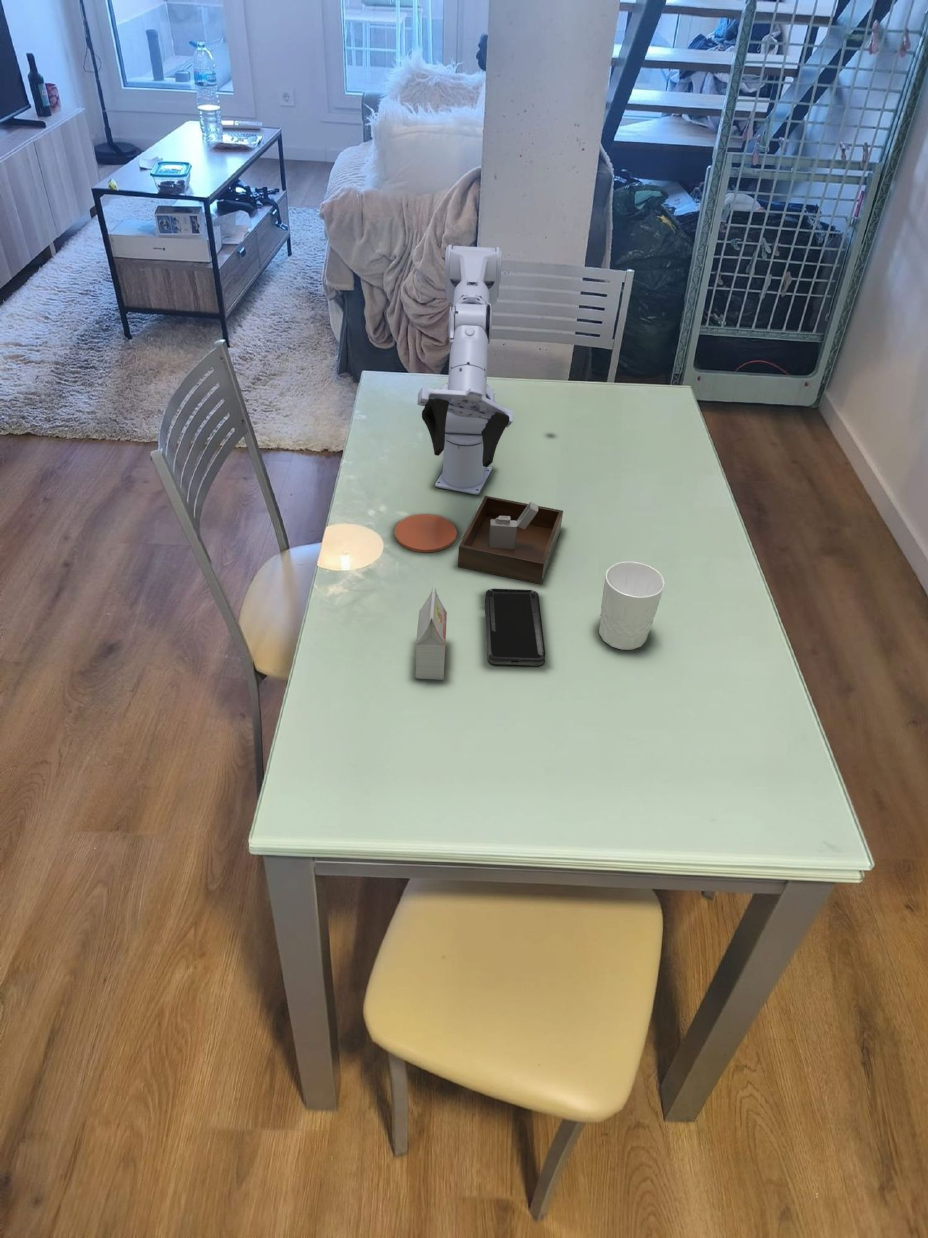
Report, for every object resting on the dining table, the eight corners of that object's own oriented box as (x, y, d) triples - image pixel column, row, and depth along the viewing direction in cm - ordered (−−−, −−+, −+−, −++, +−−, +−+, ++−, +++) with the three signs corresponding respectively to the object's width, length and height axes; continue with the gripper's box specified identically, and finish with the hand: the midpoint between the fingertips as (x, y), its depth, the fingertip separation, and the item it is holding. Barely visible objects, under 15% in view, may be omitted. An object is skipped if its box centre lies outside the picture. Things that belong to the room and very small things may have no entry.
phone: (537, 590, 121) (546, 660, 110) (537, 595, 122) (545, 666, 110) (484, 588, 121) (487, 658, 109) (484, 594, 121) (486, 664, 110)
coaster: (406, 512, 137) (406, 509, 137) (463, 523, 135) (464, 520, 135) (385, 545, 130) (385, 542, 130) (445, 557, 128) (446, 554, 128)
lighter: (488, 547, 130) (492, 505, 125) (488, 541, 131) (492, 498, 126) (533, 550, 130) (538, 507, 125) (533, 543, 131) (538, 501, 126)
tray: (483, 515, 138) (484, 495, 135) (560, 530, 135) (563, 510, 133) (457, 566, 127) (458, 546, 124) (541, 584, 124) (543, 563, 122)
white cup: (615, 659, 112) (628, 603, 106) (583, 625, 117) (594, 569, 111) (661, 643, 115) (676, 587, 108) (628, 610, 120) (641, 555, 114)
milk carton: (415, 678, 108) (416, 621, 101) (418, 643, 113) (419, 587, 106) (443, 679, 108) (445, 622, 101) (445, 645, 113) (447, 588, 106)
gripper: (431, 348, 116) (426, 434, 112) (523, 374, 121) (520, 457, 118) (415, 373, 122) (409, 456, 119) (502, 397, 128) (500, 477, 124)
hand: (463, 458), depth 119 cm, fingers open, 7 cm apart
